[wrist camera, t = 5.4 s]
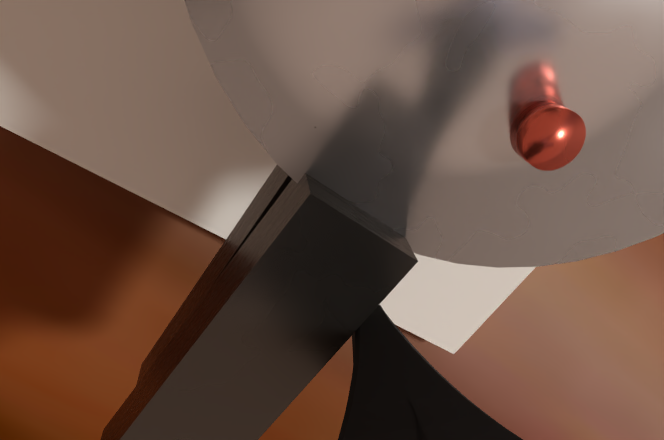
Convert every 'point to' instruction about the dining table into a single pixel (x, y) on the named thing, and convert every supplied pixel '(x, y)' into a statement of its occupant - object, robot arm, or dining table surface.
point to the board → (182, 135)
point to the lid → (405, 174)
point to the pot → (222, 259)
